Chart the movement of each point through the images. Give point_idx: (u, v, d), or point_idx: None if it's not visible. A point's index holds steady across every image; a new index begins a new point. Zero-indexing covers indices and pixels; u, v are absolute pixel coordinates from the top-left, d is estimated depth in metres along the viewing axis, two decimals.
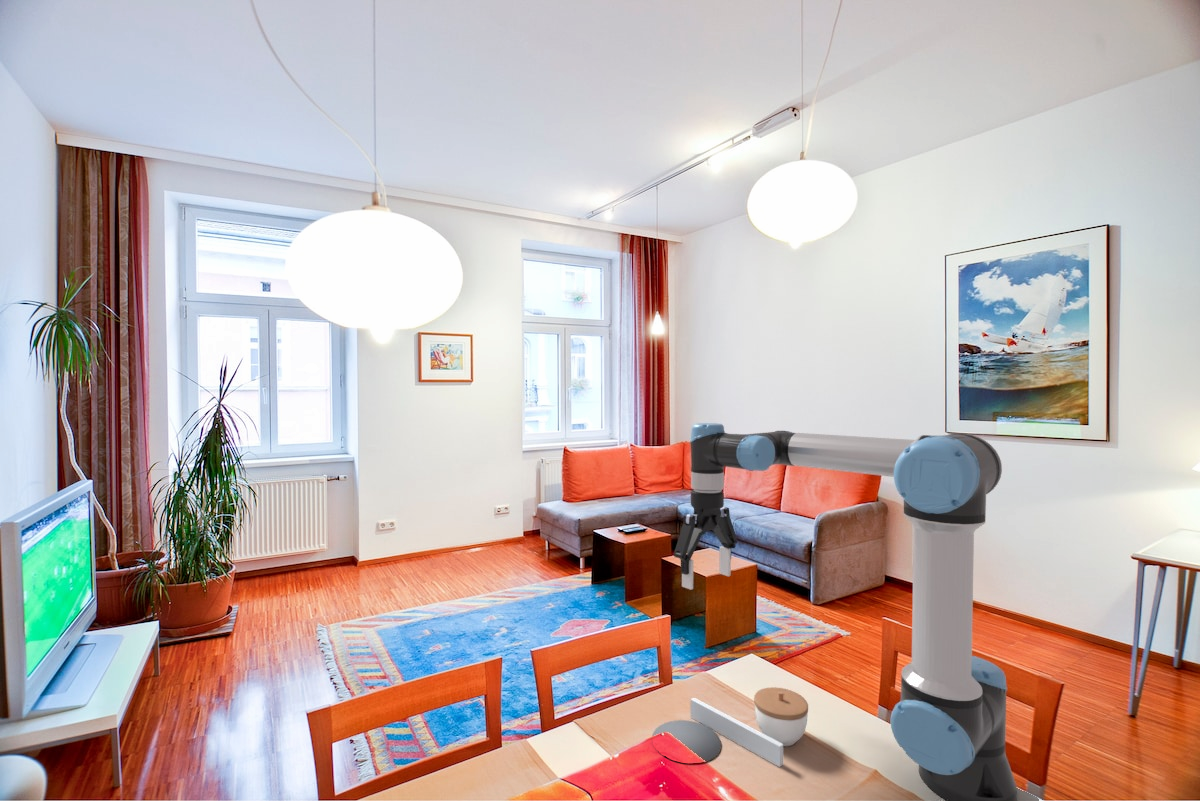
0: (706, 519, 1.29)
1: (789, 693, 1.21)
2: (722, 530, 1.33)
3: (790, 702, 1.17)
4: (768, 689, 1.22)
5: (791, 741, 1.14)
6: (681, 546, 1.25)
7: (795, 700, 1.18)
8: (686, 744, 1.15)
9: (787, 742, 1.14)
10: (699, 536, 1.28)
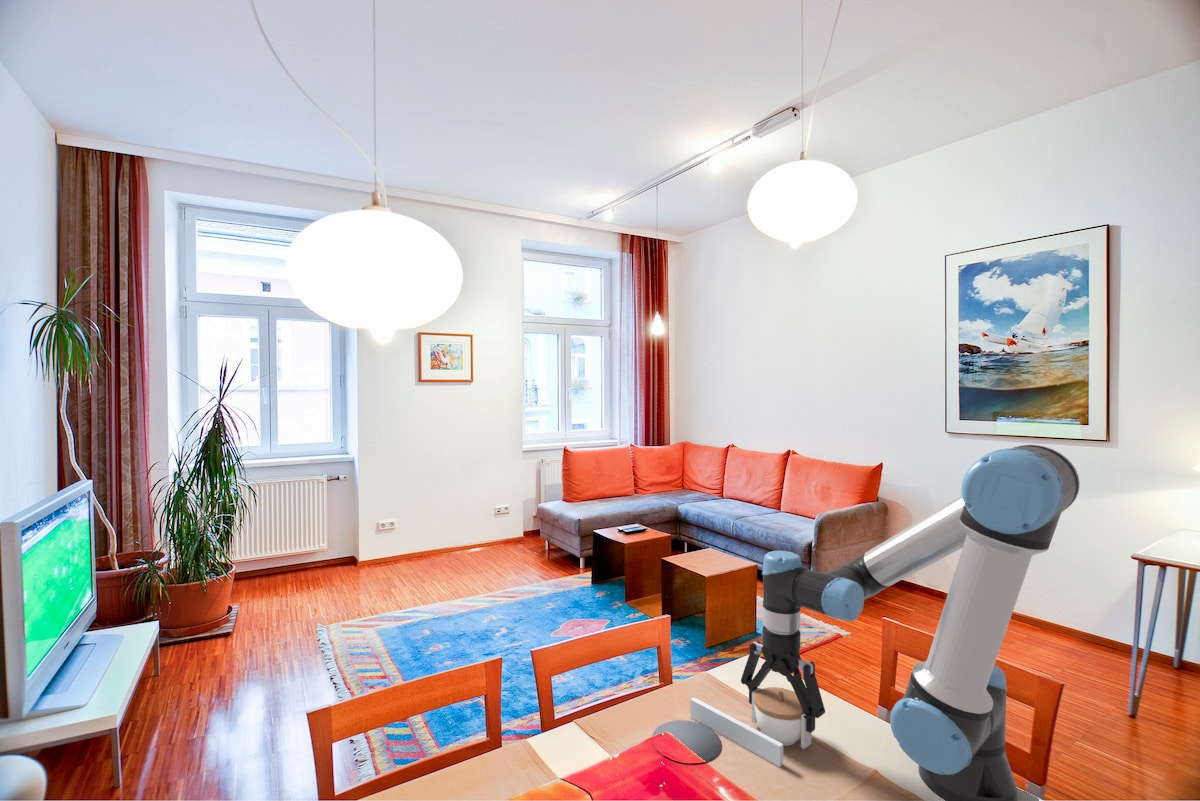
0: None
1: (789, 693, 1.21)
2: (794, 685, 1.14)
3: (790, 702, 1.17)
4: (768, 689, 1.22)
5: (791, 741, 1.14)
6: None
7: (795, 699, 1.18)
8: (686, 744, 1.15)
9: (787, 742, 1.14)
10: (762, 671, 1.20)
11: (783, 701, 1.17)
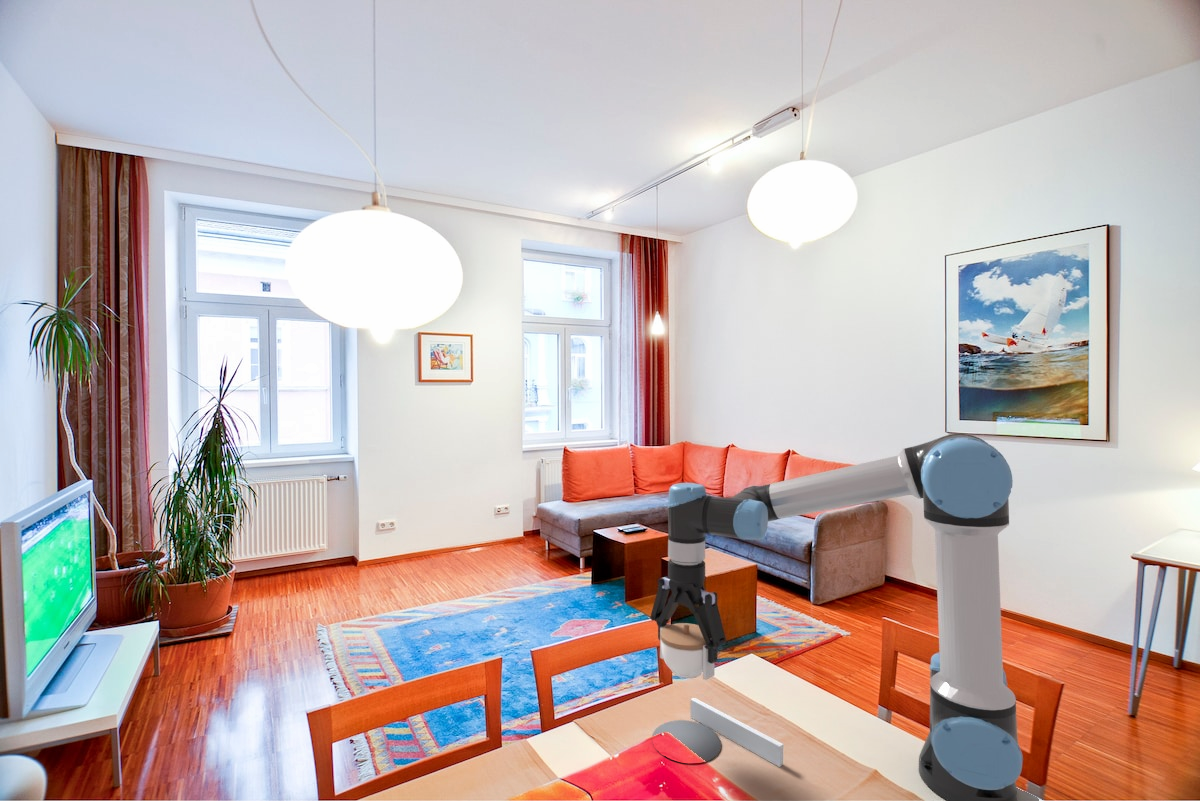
0: None
1: (697, 627, 1.19)
2: (697, 616, 1.13)
3: (695, 635, 1.15)
4: (677, 624, 1.20)
5: (694, 672, 1.12)
6: None
7: (701, 633, 1.16)
8: (686, 744, 1.15)
9: (690, 673, 1.12)
10: (669, 605, 1.18)
11: (688, 634, 1.16)
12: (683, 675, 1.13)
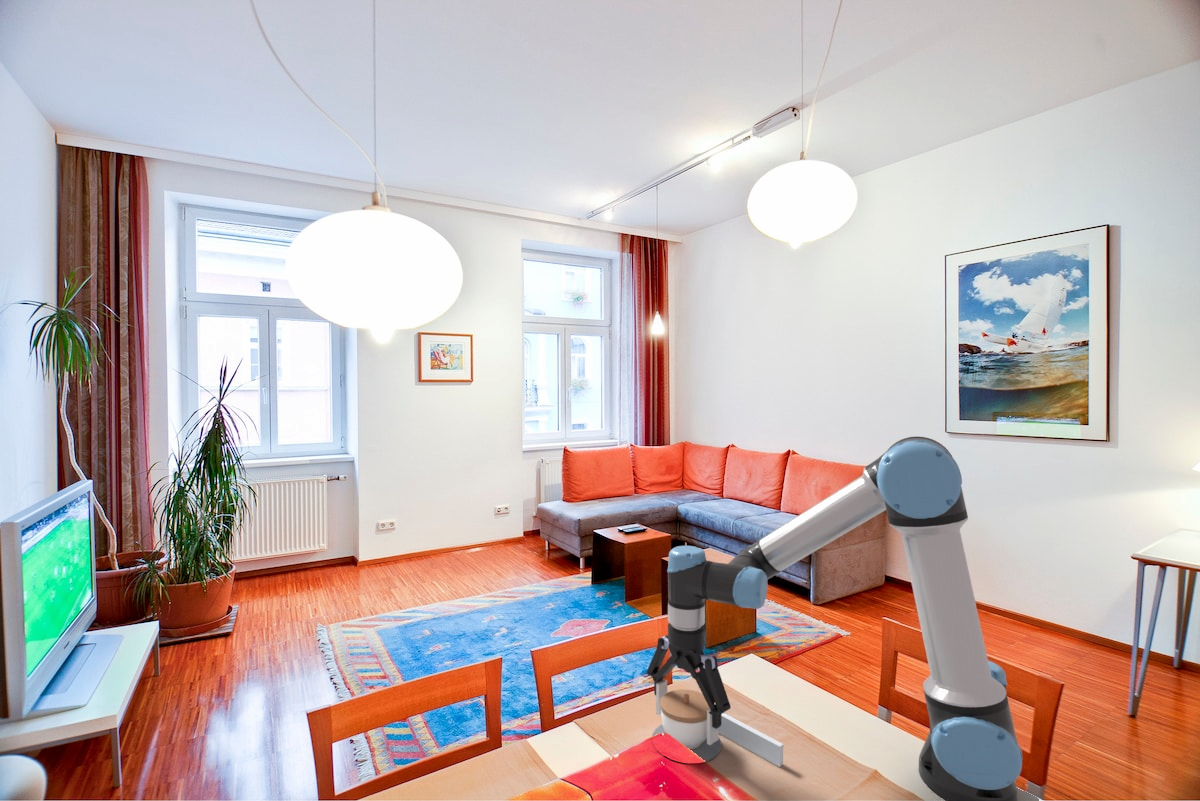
0: (674, 653, 1.17)
1: (697, 695, 1.19)
2: (698, 681, 1.12)
3: (695, 705, 1.16)
4: (677, 691, 1.21)
5: (693, 744, 1.13)
6: None
7: (701, 702, 1.16)
8: None
9: (689, 745, 1.13)
10: (667, 665, 1.19)
11: (688, 704, 1.16)
12: None
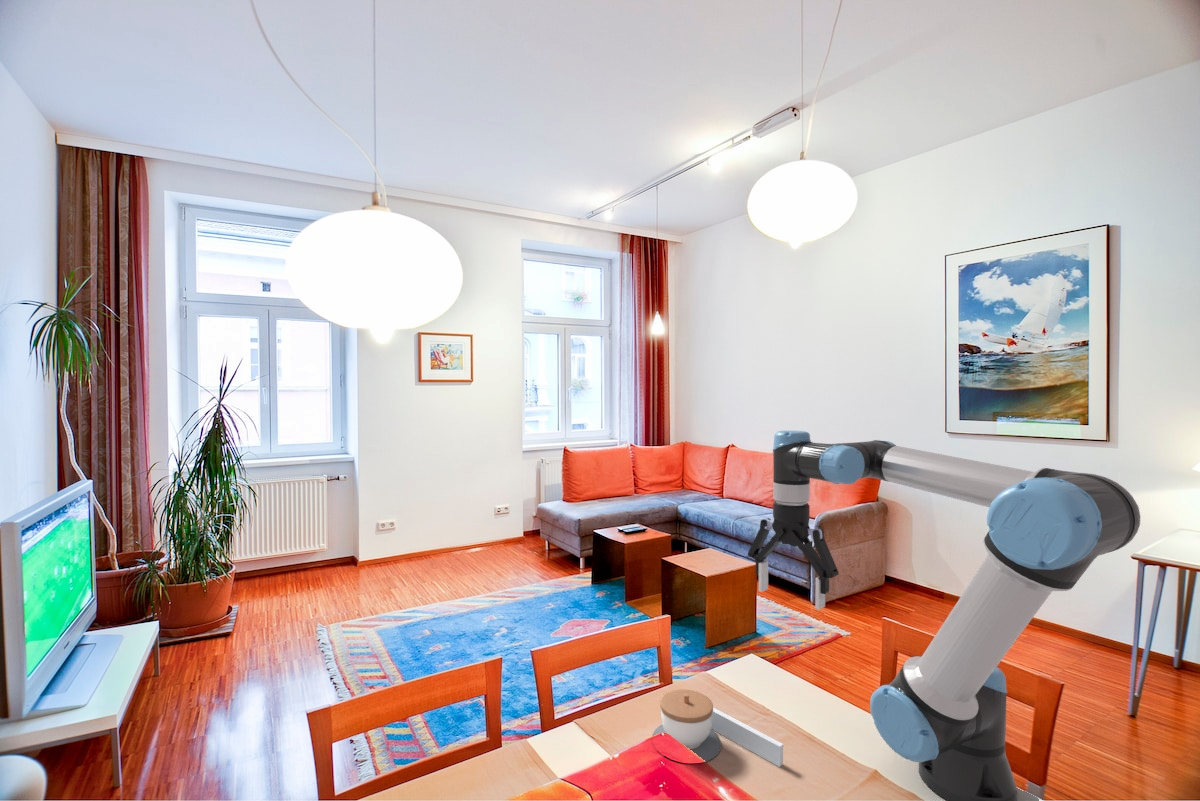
0: None
1: (697, 695, 1.19)
2: (806, 552, 1.20)
3: (695, 705, 1.16)
4: (677, 691, 1.21)
5: (693, 744, 1.13)
6: None
7: (701, 702, 1.16)
8: None
9: (689, 745, 1.13)
10: (770, 544, 1.26)
11: (688, 704, 1.16)
12: None
